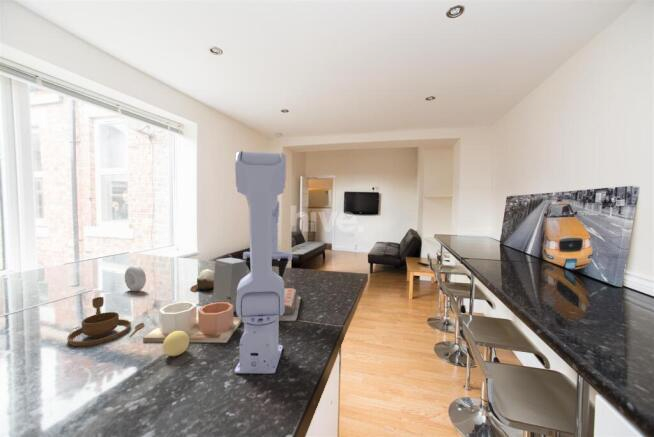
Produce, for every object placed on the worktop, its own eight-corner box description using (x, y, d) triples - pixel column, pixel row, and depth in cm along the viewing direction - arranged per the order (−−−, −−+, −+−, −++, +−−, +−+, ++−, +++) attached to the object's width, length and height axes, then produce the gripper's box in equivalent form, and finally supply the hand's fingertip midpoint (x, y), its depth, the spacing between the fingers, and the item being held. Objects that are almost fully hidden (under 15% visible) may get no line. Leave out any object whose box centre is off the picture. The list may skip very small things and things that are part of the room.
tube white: (185, 333, 62) (184, 313, 62) (153, 333, 62) (153, 313, 62) (200, 319, 70) (200, 302, 70) (172, 319, 70) (172, 301, 70)
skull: (192, 281, 106) (210, 263, 107) (212, 297, 107) (229, 278, 109) (182, 290, 94) (202, 269, 96) (204, 307, 96) (224, 286, 97)
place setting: (36, 354, 55) (35, 328, 55) (93, 316, 75) (92, 297, 75) (129, 344, 60) (128, 319, 60) (160, 311, 79) (160, 292, 79)
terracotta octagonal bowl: (225, 334, 62) (225, 314, 62) (193, 333, 62) (193, 314, 62) (236, 320, 70) (236, 302, 70) (208, 319, 70) (208, 302, 70)
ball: (181, 361, 53) (181, 337, 53) (157, 360, 53) (157, 337, 53) (193, 348, 58) (193, 326, 58) (172, 347, 58) (171, 326, 58)
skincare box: (211, 309, 80) (211, 260, 80) (230, 301, 87) (229, 256, 86) (230, 314, 76) (230, 263, 76) (248, 306, 83) (248, 259, 82)
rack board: (226, 342, 60) (226, 338, 60) (143, 341, 60) (143, 337, 60) (242, 320, 72) (242, 316, 72) (173, 319, 72) (173, 315, 72)
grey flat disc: (122, 290, 97) (122, 264, 96) (132, 288, 100) (132, 263, 99) (138, 294, 93) (138, 267, 92) (148, 291, 96) (147, 265, 95)
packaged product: (273, 286, 90) (301, 286, 91) (273, 299, 90) (300, 300, 91) (261, 306, 72) (296, 306, 73) (261, 322, 72) (296, 322, 73)
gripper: (293, 237, 80) (293, 279, 80) (248, 236, 80) (248, 278, 81) (290, 239, 73) (290, 285, 73) (240, 239, 73) (240, 285, 73)
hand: (267, 282), depth 77 cm, fingers open, 7 cm apart
